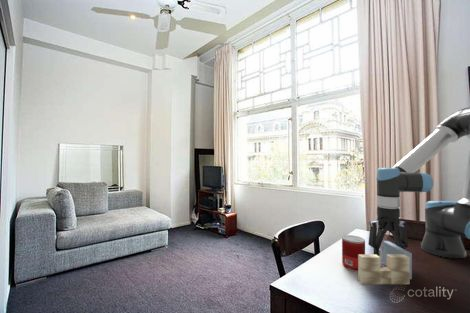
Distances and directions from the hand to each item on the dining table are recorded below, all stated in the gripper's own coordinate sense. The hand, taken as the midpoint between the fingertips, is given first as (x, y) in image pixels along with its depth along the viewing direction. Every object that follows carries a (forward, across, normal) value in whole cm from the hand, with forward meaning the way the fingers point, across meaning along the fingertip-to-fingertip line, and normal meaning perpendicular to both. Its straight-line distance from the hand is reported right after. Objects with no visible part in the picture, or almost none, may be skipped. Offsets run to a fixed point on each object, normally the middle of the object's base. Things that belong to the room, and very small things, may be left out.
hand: (388, 264), depth 90 cm
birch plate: (0, +10, +12) cm, 16 cm away
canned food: (+1, +14, +1) cm, 14 cm away
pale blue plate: (0, 0, +4) cm, 4 cm away
